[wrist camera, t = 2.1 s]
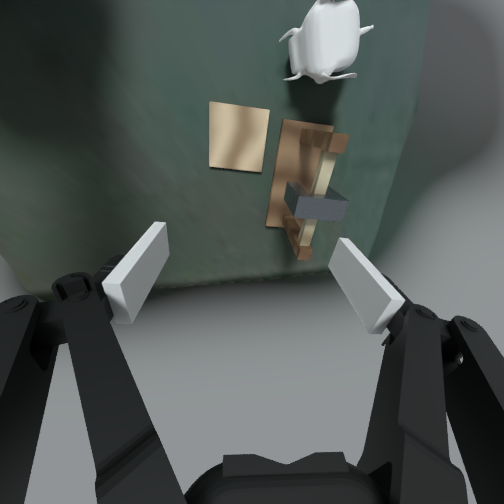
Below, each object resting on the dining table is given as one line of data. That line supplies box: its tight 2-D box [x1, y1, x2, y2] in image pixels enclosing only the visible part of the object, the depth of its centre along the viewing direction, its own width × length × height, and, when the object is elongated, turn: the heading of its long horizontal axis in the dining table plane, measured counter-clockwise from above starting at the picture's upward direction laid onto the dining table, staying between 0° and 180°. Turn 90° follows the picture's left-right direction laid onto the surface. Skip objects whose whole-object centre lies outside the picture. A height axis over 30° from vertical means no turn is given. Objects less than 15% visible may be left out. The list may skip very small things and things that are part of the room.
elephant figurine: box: [279, 0, 373, 84], centre depth 28 cm, size 10×12×9 cm
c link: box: [284, 181, 349, 222], centre depth 31 cm, size 7×3×8 cm, turn 83°
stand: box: [265, 119, 349, 260], centre depth 35 cm, size 20×9×15 cm, turn 173°
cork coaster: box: [209, 102, 270, 172], centre depth 37 cm, size 10×10×1 cm
